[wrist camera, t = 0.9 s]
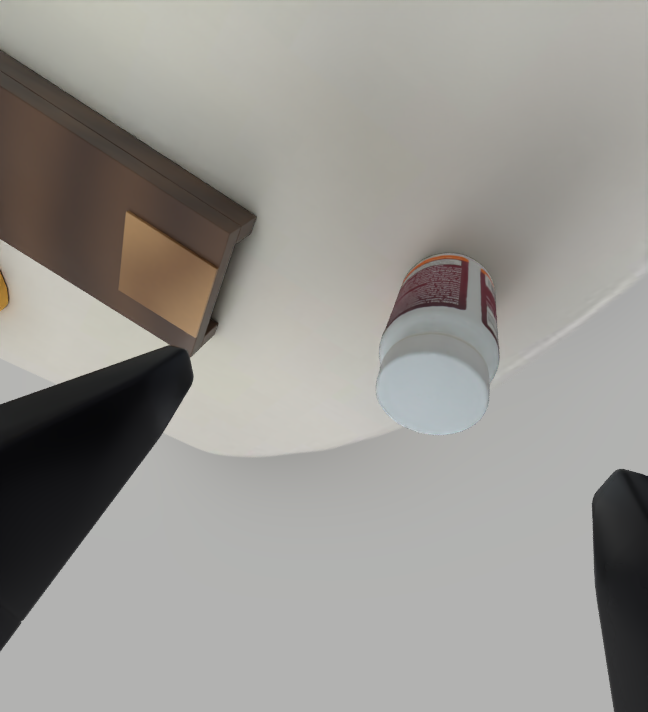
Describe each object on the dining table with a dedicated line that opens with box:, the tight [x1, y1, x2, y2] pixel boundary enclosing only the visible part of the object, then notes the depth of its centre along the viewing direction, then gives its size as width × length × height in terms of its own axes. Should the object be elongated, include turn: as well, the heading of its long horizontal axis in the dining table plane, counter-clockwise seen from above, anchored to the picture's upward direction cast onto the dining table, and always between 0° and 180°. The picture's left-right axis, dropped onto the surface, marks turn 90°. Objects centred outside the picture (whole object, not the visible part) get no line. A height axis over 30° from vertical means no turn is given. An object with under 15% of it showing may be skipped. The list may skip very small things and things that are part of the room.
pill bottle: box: [376, 253, 500, 435], centre depth 17 cm, size 5×5×8 cm
